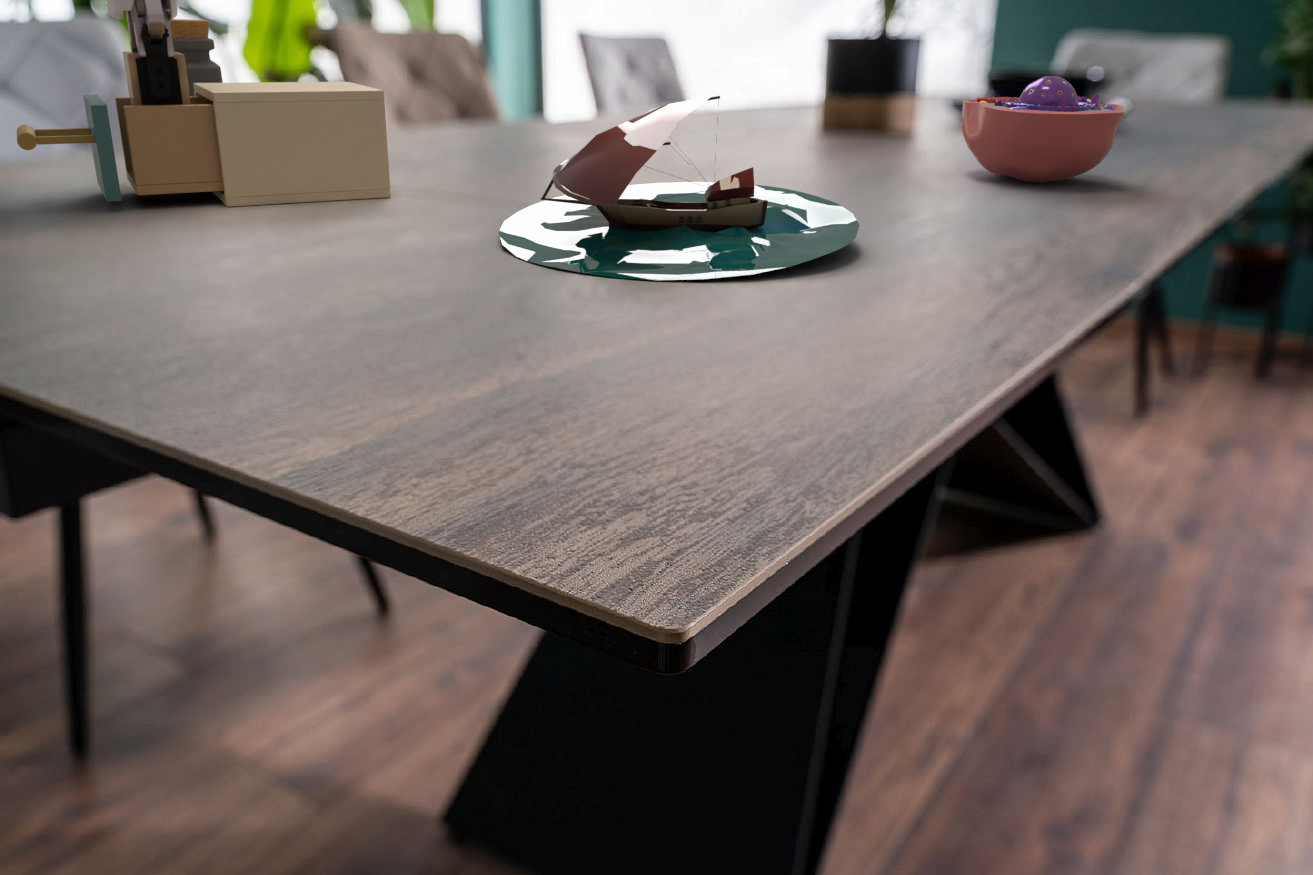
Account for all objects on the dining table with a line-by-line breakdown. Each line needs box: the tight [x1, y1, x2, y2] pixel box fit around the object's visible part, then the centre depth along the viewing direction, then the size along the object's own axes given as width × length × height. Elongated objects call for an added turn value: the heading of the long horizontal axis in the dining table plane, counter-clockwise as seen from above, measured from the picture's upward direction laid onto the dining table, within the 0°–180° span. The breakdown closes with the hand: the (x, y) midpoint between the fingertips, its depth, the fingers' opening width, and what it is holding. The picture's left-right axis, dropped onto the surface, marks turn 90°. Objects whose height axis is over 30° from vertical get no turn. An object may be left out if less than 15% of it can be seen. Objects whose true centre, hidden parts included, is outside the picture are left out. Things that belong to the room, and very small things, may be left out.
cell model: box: [960, 75, 1127, 184], centre depth 121 cm, size 17×20×11 cm
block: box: [122, 51, 191, 106], centre depth 94 cm, size 4×4×4 cm
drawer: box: [16, 94, 224, 202], centre depth 96 cm, size 19×11×8 cm, turn 119°
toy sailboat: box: [498, 95, 860, 281], centre depth 83 cm, size 28×28×11 cm
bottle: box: [169, 18, 224, 96], centre depth 111 cm, size 6×6×15 cm
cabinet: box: [193, 81, 392, 208], centre depth 101 cm, size 15×13×10 cm
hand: (159, 102), depth 95 cm, fingers closed on block, 4 cm apart
